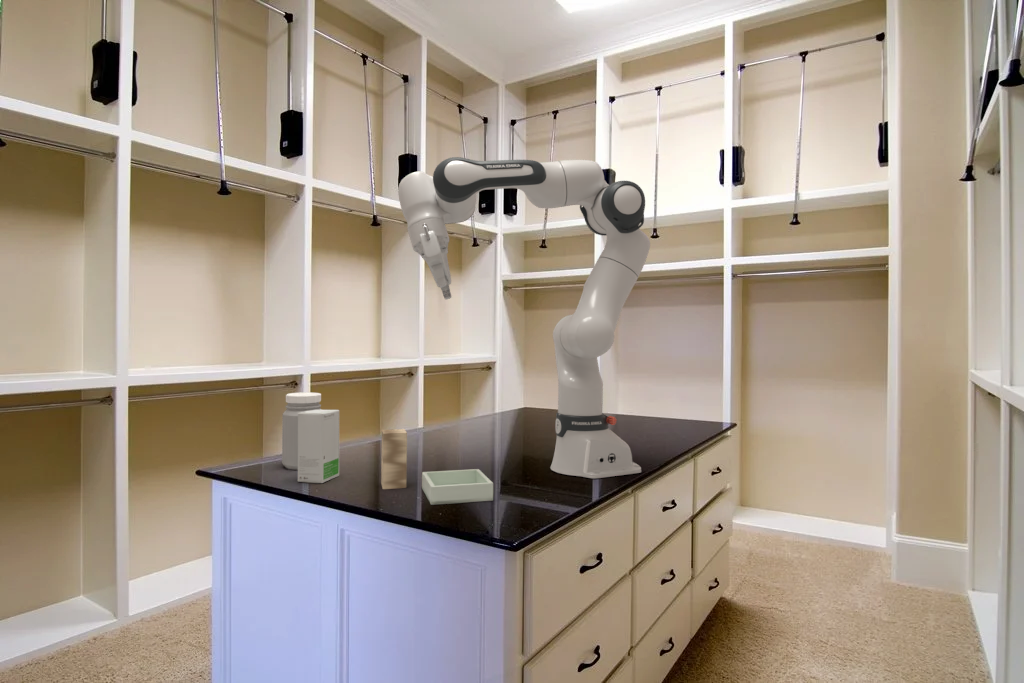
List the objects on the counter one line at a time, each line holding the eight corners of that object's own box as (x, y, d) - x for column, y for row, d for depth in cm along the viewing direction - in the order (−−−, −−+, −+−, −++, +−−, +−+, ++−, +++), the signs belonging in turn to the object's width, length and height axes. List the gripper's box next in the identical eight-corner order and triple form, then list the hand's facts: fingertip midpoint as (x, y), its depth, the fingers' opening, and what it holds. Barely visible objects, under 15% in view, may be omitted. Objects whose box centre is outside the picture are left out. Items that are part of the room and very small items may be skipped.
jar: (291, 461, 150) (292, 391, 150) (329, 462, 150) (329, 392, 150) (275, 470, 140) (275, 395, 140) (315, 471, 140) (315, 396, 140)
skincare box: (321, 484, 128) (322, 413, 128) (294, 482, 129) (295, 412, 129) (340, 475, 136) (341, 409, 136) (314, 473, 138) (315, 407, 137)
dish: (478, 484, 130) (478, 468, 130) (493, 500, 118) (493, 483, 118) (421, 488, 126) (422, 472, 126) (431, 504, 114) (431, 487, 114)
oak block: (403, 482, 131) (404, 429, 131) (406, 487, 126) (407, 432, 126) (381, 483, 130) (381, 429, 129) (382, 489, 125) (383, 433, 125)
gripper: (436, 216, 126) (454, 274, 124) (447, 250, 146) (462, 300, 144) (408, 224, 126) (425, 282, 123) (423, 257, 146) (438, 307, 143)
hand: (445, 292), depth 134 cm, fingers open, 8 cm apart
